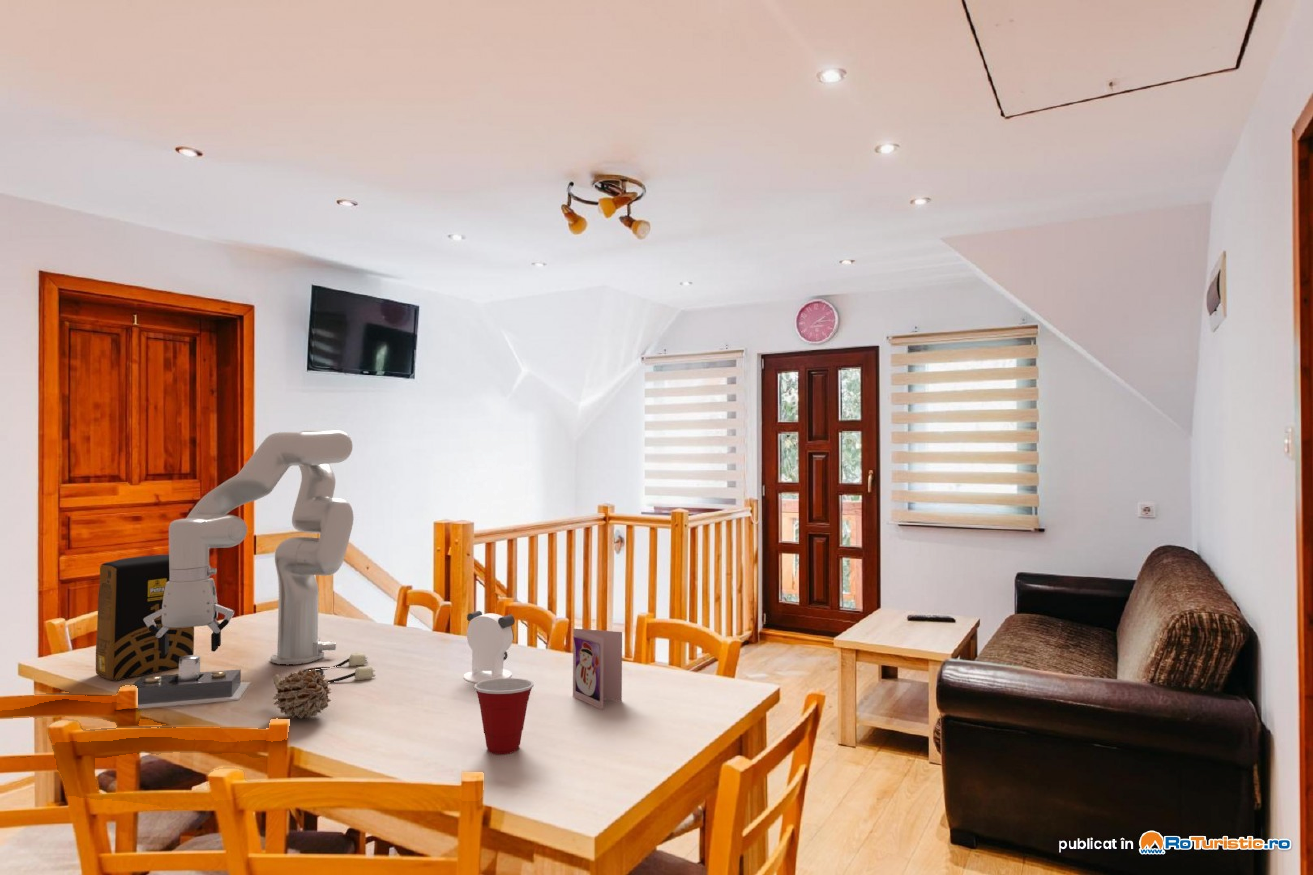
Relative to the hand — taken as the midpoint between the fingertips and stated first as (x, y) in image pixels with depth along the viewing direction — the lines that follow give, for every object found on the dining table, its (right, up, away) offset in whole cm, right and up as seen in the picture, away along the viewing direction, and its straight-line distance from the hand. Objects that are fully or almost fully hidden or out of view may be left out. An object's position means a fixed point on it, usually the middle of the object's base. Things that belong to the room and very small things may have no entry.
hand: (190, 651), depth 166 cm
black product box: (-23, -10, +19) cm, 31 cm away
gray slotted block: (0, -10, -1) cm, 10 cm away
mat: (0, -10, -1) cm, 10 cm away
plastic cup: (+75, -10, -29) cm, 81 cm away
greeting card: (+90, -10, -1) cm, 91 cm away
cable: (+26, -11, +16) cm, 33 cm away
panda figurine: (+63, -11, +16) cm, 65 cm away
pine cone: (+28, -10, -11) cm, 32 cm away
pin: (0, -9, -1) cm, 9 cm away
